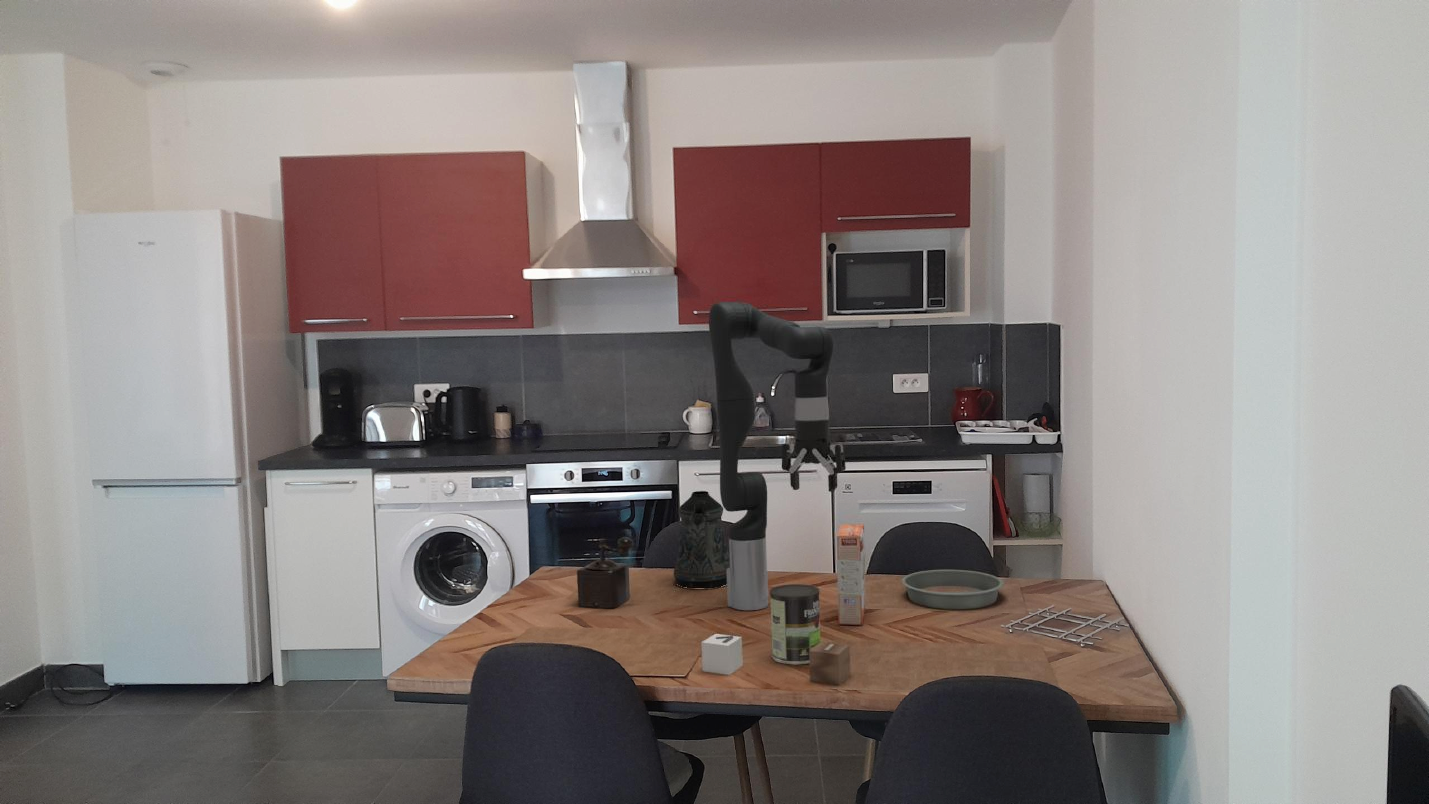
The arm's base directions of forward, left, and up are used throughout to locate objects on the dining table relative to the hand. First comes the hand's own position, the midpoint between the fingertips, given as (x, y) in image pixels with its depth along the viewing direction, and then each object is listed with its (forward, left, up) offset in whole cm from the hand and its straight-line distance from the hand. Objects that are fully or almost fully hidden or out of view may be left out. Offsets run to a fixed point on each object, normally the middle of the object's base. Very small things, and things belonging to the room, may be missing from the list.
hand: (814, 490), depth 216 cm
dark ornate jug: (-45, +30, -32) cm, 63 cm away
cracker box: (+3, +14, -32) cm, 35 cm away
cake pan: (+20, +39, -33) cm, 55 cm away
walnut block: (+13, -26, -32) cm, 43 cm away
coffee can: (+2, -17, -32) cm, 37 cm away
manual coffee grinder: (-58, +4, -32) cm, 67 cm away
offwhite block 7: (-9, -29, -32) cm, 44 cm away
